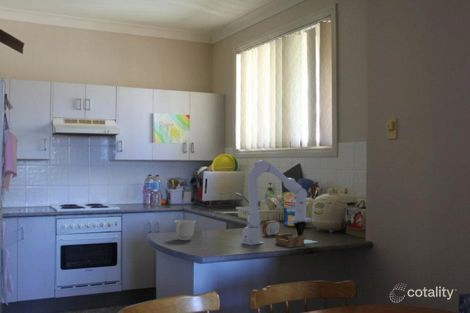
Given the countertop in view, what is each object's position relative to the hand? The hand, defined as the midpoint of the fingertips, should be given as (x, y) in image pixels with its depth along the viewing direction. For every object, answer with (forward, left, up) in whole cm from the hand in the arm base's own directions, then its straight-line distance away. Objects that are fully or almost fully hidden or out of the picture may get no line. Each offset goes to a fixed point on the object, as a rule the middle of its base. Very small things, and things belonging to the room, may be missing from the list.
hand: (300, 236), depth 271 cm
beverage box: (+50, +55, -4) cm, 75 cm away
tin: (+7, +30, -4) cm, 31 cm away
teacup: (-45, +44, -4) cm, 63 cm away
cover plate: (+4, 0, -4) cm, 6 cm away
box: (-8, 0, -4) cm, 8 cm away
